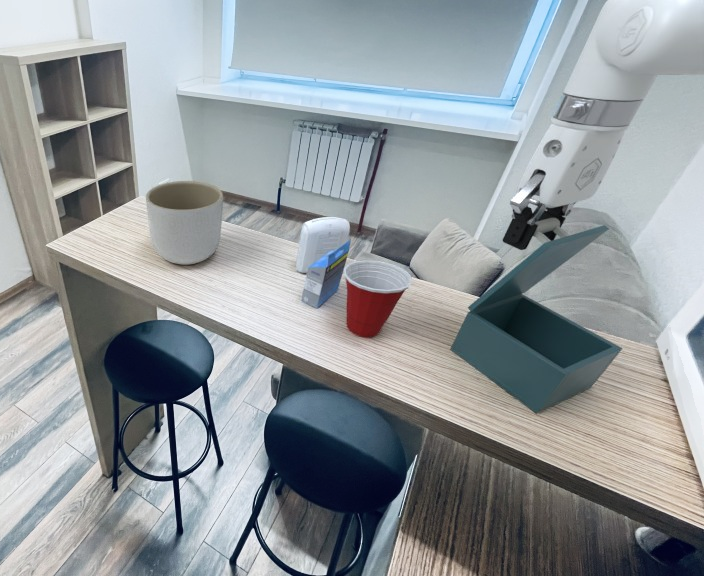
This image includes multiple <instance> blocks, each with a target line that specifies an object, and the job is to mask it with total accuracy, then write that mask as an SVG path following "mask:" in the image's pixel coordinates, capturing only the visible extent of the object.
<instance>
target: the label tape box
mask: <svg viewBox="0 0 704 576" xmlns="http://www.w3.org/2000/svg"><path fill="white" fill-rule="evenodd" d="M351 240H352V238H349V239H348V240H347V242H346V243H345V244H343V245H342V246H340V247H339V248H337V249H336V250H331V251H329V252H328V253H327V254H325V255H324V256H323V257H321V258H320V259H319V260H318V261H316V262H315V263H314V264H312V265H311V266H310V267H308V271H307V273H306V275H305V276H306V277H305V281H304V286H303V290H302V295H301V302H302V303H305V304H307V305H308V306H310V307H313V308H314V309H318V308H320V307H321V306H322V305H323V304H324V303H325V302H326V301H327V300H329V299H330V297H332V296H333V295H334V294H335V293H336V292H337V291H338V290H339V288H340V284H341V280H342V277H343V275H344V268H345V267H346V263H347V259H348V255H349V251H350V248H351Z"/></svg>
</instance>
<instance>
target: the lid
mask: <svg viewBox="0 0 704 576" xmlns="http://www.w3.org/2000/svg"><path fill="white" fill-rule="evenodd" d="M535 224H537V225H538V227H537V229H536V231H535V233H534V235H533V238H535V239H536V240H538V241H539V242H540V243H541V245H540V246H538V248H537V249H535V250H534V251H533V252H532V253H530V254H529V255H528V256H527V257H526V258H525V259H523V260H522V261H521V262H520V263H518V265H516V266H515V267H514V268H513V269H511V270H510V271H509V272H507V274H505V275H504V276H503V277H502V278H501V279H499V281H497V282H496V283H495V284H493V286H491V287H490V288H489V289H487V291H485V292H484V293H483V294H481V296H479V297H478V298H477V299H476V300H474V301H473V302H472V303H471V304H469V306H467V309H468V310H469V312H470V311H474V310H477V309H479V308H482V307H485V306H488V305H491V304H494V303H497V302H500V301H503V300H506V299H508V298H511V297H514V296H517V295H520V294H523V295H524V294H525V293H527V292H529V290H530V289H532V288H533V287H534V286H537V284H539V283H540V282H542V280H544V279H545V278H546V277H548V276H549V275H550V274H552V273H553V272H555V270H557V269H559V268H560V267H561V266H562V265H564V264H565V263H567V262H568V261H569V260H570V259H572V258H573V257H574V256H576V255H577V254H578V253H580V252H581V251H583V250H584V249H585V248H586V247H588V246H589V245H591V244H592V243H593V242H594V241H595V240H597V239H598V238H599V237H601V236H602V235H604V234H605V233H606V232H608V231H609V230H610V228H609V227H608V226H607V225H605V224H603V225H600V226H597V227H593V228H589V229H586V230H584V231H580V232H576V233H573V234H569V233H568V232H566V231H565V230H564V229H563V228H562V227H561V228H560V227H559V226H560V221H559V220H558V219H557V218H549V219H545V220H541V221H538V222H536V223H535ZM549 231H553V232H555V233H556V234H557V235H556V236H558V237H559V238H555V239H554V240H553V241H551V240H550V239H548V238H547V237H546V236H545V235H544V234H543V233H545V232H549Z"/></svg>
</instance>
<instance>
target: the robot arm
mask: <svg viewBox="0 0 704 576" xmlns="http://www.w3.org/2000/svg"><path fill="white" fill-rule="evenodd" d="M684 75H688V76H689V75H690V76H691V75H695V76H696V75H697V76H698V75H699V76H700V75H703V76H704V0H606V1H605V3H604V4H603V6H602V8H601V9H600V11H599V12H598V15H597V18H596V20H595V22H594V24H593V27H592V29H591V31H590V33H589V35H588V38H587V39H586V42H585V44H584V47H583V49H582V50H581V53H580V54H579V57H578V60H577V62H576V64H575V66H574V68H573V70H572V72H571V74H570V77H569V79H568V81H567V83H566V85H565V87H564V90H563V92H562V95H561V96H560V99H559V101H558V103H557V105H556V107H555V109H554V112H553V114H552V116H551V119H550V122H551V124H550V126H549V127H548V128H547V130H546V132H545V133H544V135H543V137H542V138H541V140H540V142H539V143H538V145H537V147H536V149H535V151H534V153H533V155H532V156H531V158H530V160H529V161H528V164H527V166H526V168H525V170H524V171H523V175H522V177H521V178H520V181H519V184H518V186H517V189H516V194H515V196H513V197H512V199H510V202H509V205H510V207H511V208H512V214H511V218H512V219H511V221H510V223H509V225H508V227H507V229H506V231H505V233H504V235H503V238H502V243H505V244H506V245H509V246H511V247H513V248H514V249H517V250H519V251H525V250H526V249H528V247H529V244H530V243H531V241H532V239H533V238H534V236H533V235H534V233H535V231H536V229H537V227H538V225H537V224H535V223H536V222H538V221H541V220H545V219H549V218H557V219H558V220H559V221H560V226H559V227H560V228H562V227H563V224H564V222H565V221H566V219H567V217H568V216H570V214H571V213H572V210H573V208H574V205H575V204H577V203H578V202H583V201H585V200H589V199H590V198H592V197H593V196H595V194H596V192H597V191H598V190H599V188H600V185H601V184H602V182H603V180H604V178H605V176H606V175H607V172H608V170H609V168H610V166H611V164H612V162H613V160H614V158H615V156H616V154H617V152H618V149H619V147H620V144H621V143H622V140H623V137H624V135H625V132H626V130H628V128H629V126H630V124H631V123H632V121H633V120H634V117H635V116H636V114H637V112H638V110H639V109H640V107H641V105H642V104H643V102H644V100H645V98H646V97H647V95H648V93H649V91H650V89H651V88H652V86H653V84H654V83H655V81H656V79H657V77H658V76H684ZM534 196H537V197H539V200H538V199H535V198H533V197H534ZM530 204H531V205H534V206H536V207H535V209H534V211H533V209H532V208H531V207H530V206H529V205H530ZM543 234H544V235H545V236H546V237H547V238H548V239H550V240H551V241H553V240H556V237H557V236H558V235H557V234H556V233H555V232H553V231H549V232H545V233H543Z"/></svg>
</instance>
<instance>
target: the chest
mask: <svg viewBox="0 0 704 576" xmlns="http://www.w3.org/2000/svg"><path fill="white" fill-rule="evenodd" d="M622 350H623V347H621V346H619V345H617V344H616V343H614V342H612V341H610V340H608V339H606V338H605V337H603V336H601V335H599V334H597V333H595V332H593V331H591V330H589V329H587V328H586V327H584V326H583V325H580V324H579V323H577V322H575V321H573V320H571V319H570V318H567V317H565V316H563V315H562V314H560V313H558V312H556V311H554V310H553V309H551V308H549V307H547V306H545V305H544V304H541V303H539V302H538V301H535V300H534V299H532V298H530V297H528V296H526V295H525V294H524V293H523V294H520V295H517V296H514V297H511V298H508V299H506V300H503V301H500V302H497V303H494V304H491V305H488V306H485V307H482V308H479V309H477V310H474V311H470V310H469V311H468V312H467V313H466V316H465V317H464V319H463V322H462V324H461V326H460V328H459V329H458V332H457V334H456V336H455V339H454V341H453V343H452V345H451V347H450V351H452V352H453V353H454V354H456V356H458V357H460V358H461V359H462V360H463V361H465V362H466V363H467V364H469V365H470V366H471V367H473V368H474V369H476V371H478V372H479V373H481V374H482V375H484V376H485V377H486V378H488V379H489V380H491V382H493V383H494V384H496V385H497V386H498V387H500V388H501V389H503V390H504V391H505V392H506V393H508V394H509V395H511V396H512V397H514V398H515V399H516V400H517V401H518V402H520V403H521V404H523V405H524V406H525V407H527V408H528V409H529V410H530V411H533V413H535V414H540V413H541V412H544V411H546V410H548V409H550V408H552V407H555V406H556V405H558V404H560V403H562V402H564V401H567V400H568V399H571V398H573V397H574V396H577V395H579V394H581V393H583V392H585V391H587V390H589V389H591V388H592V387H593V386H594V385H595V384H596V382H597V381H598V380H599V379H600V377H601V376H602V375H603V374H604V373H605V371H606V370H607V369H608V367H609V366H610V365H611V364H612V362H613V361H614V360H615V359H616V358H617V356H618V355H619V354H620V353H621V351H622Z"/></svg>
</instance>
